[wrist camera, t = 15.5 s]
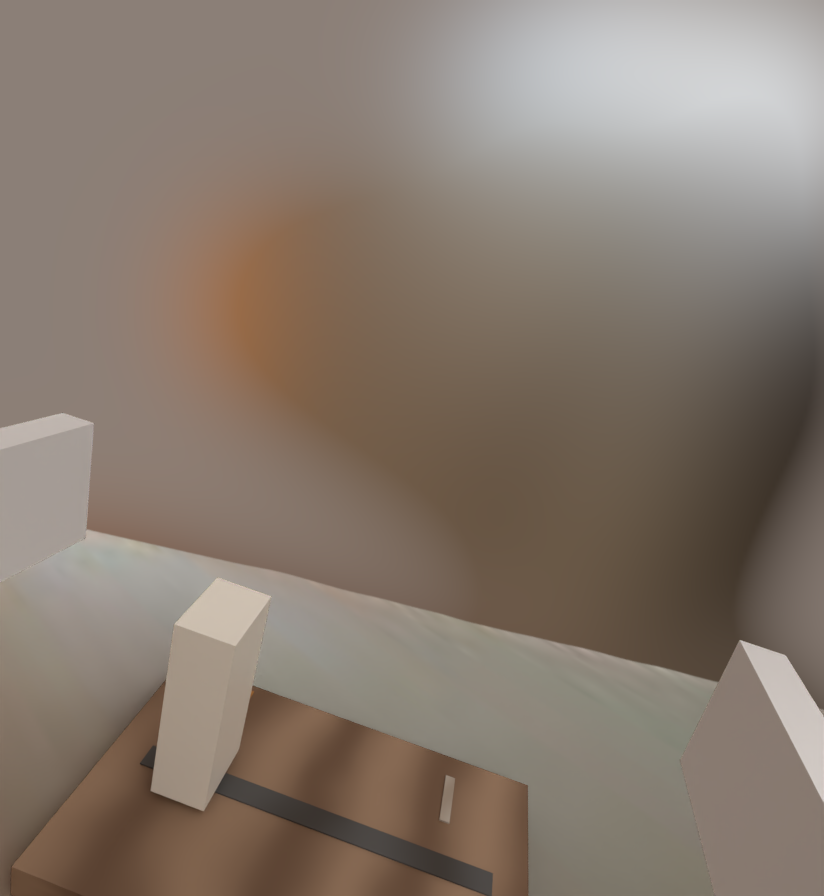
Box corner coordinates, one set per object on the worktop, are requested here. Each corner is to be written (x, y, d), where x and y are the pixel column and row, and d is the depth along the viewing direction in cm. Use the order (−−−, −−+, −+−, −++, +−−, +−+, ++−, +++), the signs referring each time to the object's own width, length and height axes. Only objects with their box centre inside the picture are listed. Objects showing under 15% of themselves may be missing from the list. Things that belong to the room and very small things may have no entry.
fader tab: (239, 749, 34) (271, 596, 30) (203, 811, 30) (235, 646, 26) (191, 731, 34) (217, 577, 30) (150, 790, 30) (174, 624, 26)
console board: (517, 806, 38) (528, 784, 37) (514, 1098, 25) (530, 1073, 24) (178, 682, 40) (182, 658, 39) (10, 894, 27) (11, 865, 26)
